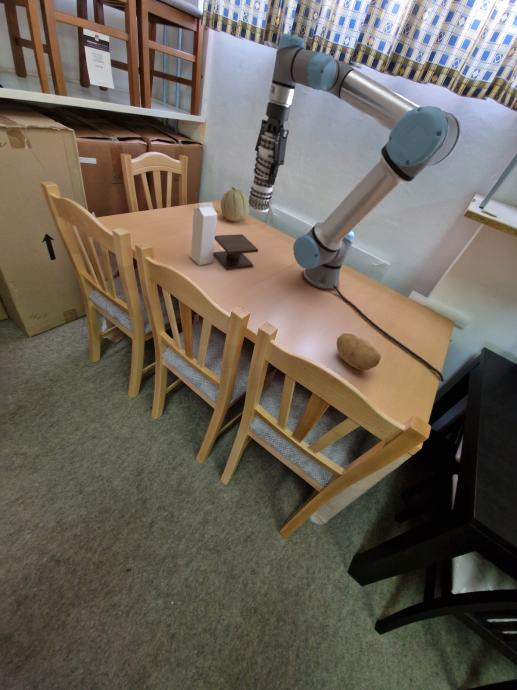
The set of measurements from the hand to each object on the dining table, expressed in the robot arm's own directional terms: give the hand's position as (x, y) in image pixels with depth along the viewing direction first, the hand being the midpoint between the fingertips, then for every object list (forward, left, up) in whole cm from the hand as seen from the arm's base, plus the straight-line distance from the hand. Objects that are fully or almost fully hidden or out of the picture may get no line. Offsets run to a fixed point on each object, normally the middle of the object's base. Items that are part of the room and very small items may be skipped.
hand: (264, 179), depth 110 cm
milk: (-3, +24, -30) cm, 38 cm away
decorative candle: (0, 0, -11) cm, 11 cm away
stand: (-6, +11, -29) cm, 32 cm away
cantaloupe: (+32, -9, -30) cm, 44 cm away
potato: (-68, +3, -30) cm, 75 cm away
